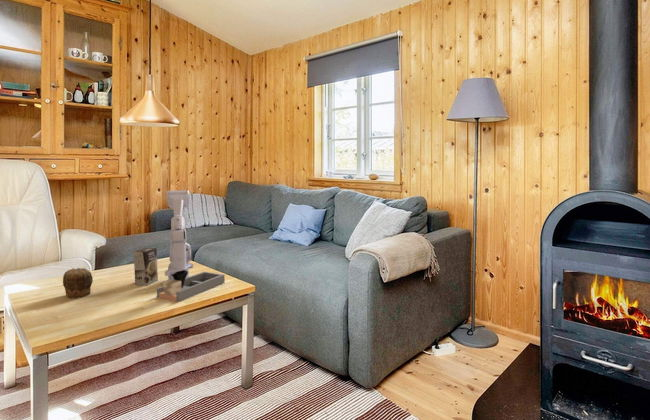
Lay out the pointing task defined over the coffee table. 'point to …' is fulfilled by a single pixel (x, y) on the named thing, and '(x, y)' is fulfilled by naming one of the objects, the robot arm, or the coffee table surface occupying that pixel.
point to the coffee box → (145, 266)
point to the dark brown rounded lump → (77, 282)
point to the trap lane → (194, 286)
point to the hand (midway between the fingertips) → (180, 287)
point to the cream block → (172, 287)
